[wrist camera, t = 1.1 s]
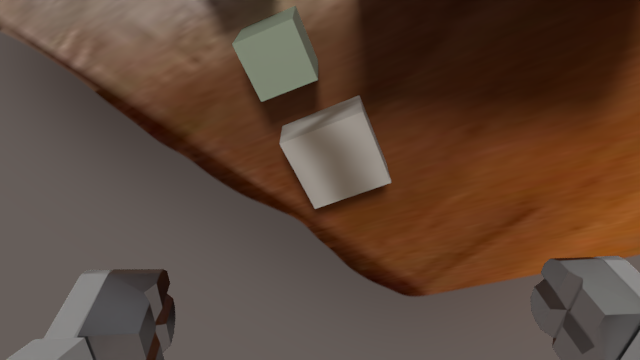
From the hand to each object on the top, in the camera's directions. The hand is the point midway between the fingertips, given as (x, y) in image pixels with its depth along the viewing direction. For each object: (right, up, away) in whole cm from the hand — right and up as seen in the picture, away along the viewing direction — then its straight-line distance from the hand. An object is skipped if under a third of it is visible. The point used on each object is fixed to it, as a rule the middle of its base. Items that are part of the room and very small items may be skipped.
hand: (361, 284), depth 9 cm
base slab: (+1, +6, +33) cm, 33 cm away
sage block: (-4, +14, +27) cm, 31 cm away
